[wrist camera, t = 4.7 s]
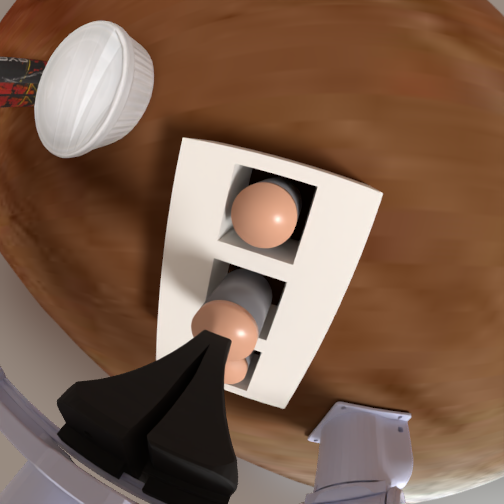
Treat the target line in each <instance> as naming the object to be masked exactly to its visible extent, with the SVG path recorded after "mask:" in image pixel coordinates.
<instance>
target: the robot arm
mask: <svg viewBox="0 0 504 504" xmlns="http://www.w3.org/2000/svg"><path fill="white" fill-rule="evenodd" d="M231 343H232V341H231V340H230V339H229V338H226V337H223V336H221V335H218V334H215V333H213V332H210V331H208V330H203V331H201V332H200V333H199V334H198V335H196V336H195V337H194V338H192V339H191V340H190V341H188V342H187V343H185V344H184V345H182V346H181V347H179V348H178V349H176V350H175V351H173V352H171V353H170V354H168V355H166V356H164V357H162V358H160V359H159V360H157V361H155V362H153V363H150V364H148V365H146V366H143V367H141V368H138V369H136V370H133V371H130V372H127V373H124V374H120V375H116V376H112V377H108V378H103V379H98V380H89V381H80V382H76V383H75V384H73V385H72V386H71V387H70V388H69V389H67V391H66V392H65V393H64V394H63V395H62V396H61V397H60V398H59V399H58V400H57V406H58V408H59V410H60V412H61V414H62V416H63V418H64V420H65V422H66V424H65V425H64V426H63V427H62V428H61V429H60V428H59V427H57V426H56V425H55V424H54V423H53V422H51V421H50V420H49V419H48V418H47V417H46V416H44V415H43V414H42V413H41V412H40V411H39V410H38V409H37V408H36V407H34V406H33V404H31V403H30V402H29V401H28V400H27V399H26V398H25V397H24V396H23V395H22V394H21V393H20V392H19V391H18V389H17V388H16V387H15V386H14V385H13V384H12V383H11V382H10V381H9V380H8V379H7V378H6V376H5V373H4V371H3V370H2V368H1V366H0V431H1V432H2V433H3V434H4V435H5V437H6V438H7V439H8V440H9V441H10V442H11V443H12V444H13V445H14V446H15V448H17V450H18V451H19V452H20V453H21V454H22V455H23V456H24V457H25V458H26V459H27V460H28V461H27V462H26V464H25V465H24V466H23V467H22V468H21V470H19V472H18V473H17V474H16V475H15V476H14V478H13V479H12V480H11V481H10V483H9V484H8V485H7V486H6V487H5V489H4V490H3V491H2V492H1V494H0V504H138V503H137V502H135V501H133V500H131V499H129V498H128V497H126V496H124V495H122V494H120V493H119V492H117V491H116V490H114V489H112V488H111V487H109V486H107V485H106V484H104V483H102V482H101V481H99V480H98V479H96V478H95V477H93V476H92V475H90V474H89V473H87V472H86V471H84V470H82V469H81V468H79V467H78V466H77V465H76V464H75V463H74V462H73V461H72V460H71V458H70V456H69V455H68V454H67V453H69V454H70V455H71V456H73V457H74V458H75V459H77V460H78V461H79V462H81V463H82V464H84V465H85V466H86V467H88V468H89V469H91V470H92V471H94V472H96V473H97V474H99V475H100V476H102V477H103V478H105V479H106V480H108V481H110V482H111V483H113V484H115V485H116V486H118V487H120V488H121V489H123V490H125V491H127V492H129V493H131V494H132V495H134V496H136V497H138V498H140V499H142V500H144V501H146V502H148V503H150V504H228V502H229V499H230V496H231V495H232V494H233V493H234V492H235V490H236V489H237V485H238V470H237V459H236V456H235V453H234V449H233V446H232V442H231V438H230V434H229V429H228V424H227V418H226V410H225V399H224V374H225V365H226V361H227V358H228V354H229V350H230V347H231ZM410 418H411V414H410V413H405V412H397V411H390V410H384V409H377V408H372V407H366V406H361V405H355V404H350V403H346V402H340V401H339V402H336V403H335V404H334V405H333V407H332V408H331V409H330V411H329V412H328V413H327V414H326V416H325V417H324V418H323V419H322V421H321V422H320V423H319V424H318V426H317V427H316V428H315V429H314V430H313V432H312V433H311V434H310V435H309V436H308V440H309V441H312V442H317V443H320V446H319V455H318V463H317V471H316V478H315V485H314V491H313V493H310V494H307V495H306V498H305V502H302V503H300V504H406V502H405V496H404V492H403V490H402V489H403V487H404V486H405V485H406V484H407V482H408V481H409V479H410V476H411V473H412V469H413V455H412V448H411V441H410V434H409V428H408V423H407V421H408V420H409V419H410ZM58 445H59V446H60V447H61V448H62V449H64V450H65V451H66V452H67V453H66V452H65V451H64V450H62V449H61V448H60V447H59V446H58Z"/></svg>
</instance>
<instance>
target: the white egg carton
mask: <svg viewBox="0 0 504 504" xmlns="http://www.w3.org/2000/svg"><path fill="white" fill-rule="evenodd" d="M253 168H255V169H259V170H262V171H266V172H270V173H273V174H277V175H280V176H284V177H287V178H291V179H294V180H297V181H301V182H304V183H307V184H310V185H314V186H316V188H315V192H314V195H313V198H312V202H311V205H310V208H309V211H308V215H307V218H306V221H305V224H304V228H303V231H302V234H301V237H300V240H299V241H297V240H294V239H291V238H288V239H287V240H286V241H285V242H284V243H282V244H281V245H279V246H276V247H273V248H258V247H254V246H252V245H250V244H248V243H246V242H245V241H244V240H243V239H241V238H240V236H239V235H238V234H237V232H236V231H235V229H234V227H233V224H232V220H231V209H232V205H233V202H234V200H235V198H236V196H237V195H238V194H239V193H240V192H241V191H242V190H243V189H245V188H246V187H248V186H249V182H250V178H251V174H252V170H253ZM382 195H383V193H382V192H380V191H378V190H376V189H375V188H373V187H371V186H369V185H367V184H364V183H361V182H358V181H356V180H353V179H350V178H347V177H344V176H341V175H338V174H335V173H332V172H329V171H326V170H323V169H320V168H317V167H314V166H310V165H307V164H304V163H300V162H297V161H293V160H290V159H286V158H283V157H279V156H275V155H271V154H268V153H264V152H260V151H256V150H252V149H248V148H243V147H239V146H235V145H230V144H226V143H221V142H216V141H210V140H202V139H193V138H184V137H183V139H182V143H181V148H180V153H179V158H178V163H177V168H176V173H175V179H174V184H173V190H172V196H171V202H170V209H169V215H168V222H167V229H166V237H165V245H164V253H163V262H162V272H161V283H160V294H159V308H158V325H157V348H156V361H157V360H159V359H160V358H162V357H164V356H166V355H168V354H170V353H171V352H173V351H175V350H176V349H178V348H179V347H181V346H182V345H184V344H185V343H187V342H188V341H190V340H191V339H192V338H194V337H193V335H192V331H191V323H192V319H193V317H194V315H195V314H196V313H197V311H198V310H199V309H200V308H201V306H202V305H203V304H204V303H205V301H206V300H207V299H208V297H209V296H210V295H211V294H212V292H213V291H214V290H215V289H216V287H217V286H218V285H219V284H220V282H221V281H222V280H223V278H224V277H225V276H226V275H227V273H228V269H229V265H230V264H233V265H236V266H239V267H242V268H245V269H248V270H251V271H254V272H257V273H260V274H263V275H266V276H269V277H272V278H275V279H278V280H281V281H284V282H285V285H284V288H283V291H282V294H281V297H280V300H279V303H278V306H276V305H273V304H271V305H270V307H269V310H268V313H267V316H266V318H265V321H264V324H263V327H262V329H261V332H260V335H259V337H258V340H257V343H256V345H255V348H254V350H253V352H252V353H251V354H250V355H249V356H247V357H246V358H244V359H241V360H237V361H226V365H225V374H224V390H227V391H229V392H232V393H235V394H238V395H241V396H244V397H247V398H250V399H253V400H256V401H259V402H262V403H265V404H269V405H272V406H275V407H279V408H283V409H285V407H286V405H287V404H288V402H289V400H290V399H291V397H292V395H293V394H294V392H295V390H296V388H297V387H298V385H299V383H300V381H301V380H302V378H303V376H304V374H305V373H306V371H307V369H308V367H309V365H310V363H311V362H312V360H313V358H314V356H315V354H316V352H317V350H318V348H319V346H320V344H321V342H322V340H323V338H324V336H325V334H326V332H327V330H328V328H329V326H330V324H331V322H332V320H333V318H334V316H335V314H336V312H337V310H338V307H339V305H340V303H341V301H342V299H343V296H344V294H345V292H346V290H347V287H348V285H349V283H350V280H351V278H352V276H353V273H354V271H355V268H356V266H357V264H358V261H359V259H360V256H361V254H362V251H363V249H364V246H365V243H366V241H367V238H368V235H369V233H370V230H371V227H372V224H373V222H374V219H375V216H376V213H377V210H378V207H379V204H380V201H381V198H382ZM255 350H256V351H259V352H260V355H257V354H254V351H255Z"/></svg>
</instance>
